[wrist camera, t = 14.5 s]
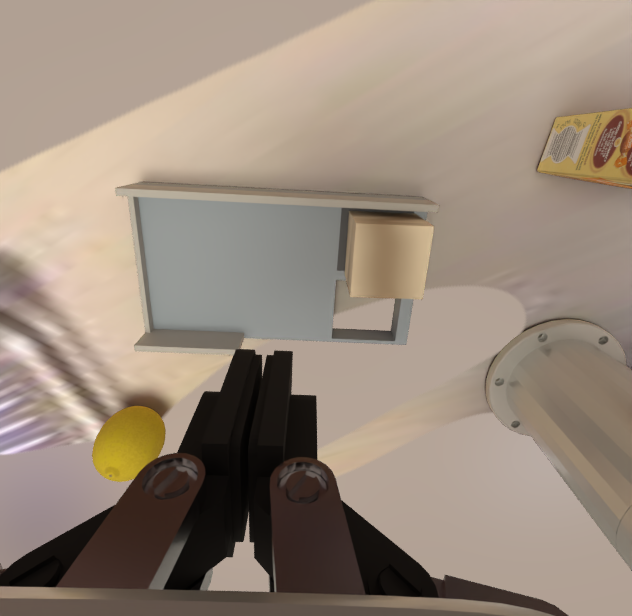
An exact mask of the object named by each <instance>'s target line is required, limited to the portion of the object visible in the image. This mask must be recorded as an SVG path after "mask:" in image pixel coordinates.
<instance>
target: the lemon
mask: <svg viewBox="0 0 632 616" xmlns="http://www.w3.org/2000/svg"><path fill="white" fill-rule="evenodd" d="M164 441H165V426H164V422H163V420H162V419H161V417H160V416H159V415H158V413H157V412H155V411H154V410H152V409H150V408H148V407H144V406H132V407H127V408H125V409H123V410H121V411H118V412H117V413H115V414H114V415H113V416H112V417H111V418H110V419H108V420H107V421H106V423H105V424H104V425H103V427H102V428H101V430H100V432H99V433H98V435H97V437H96V440H95V443H94V447H93V453H92V457H93V463H94V466H95V468H96V470H97V471H98V472H99V473H100V474H101V475H102V476H103V477H105V478H107V479H109V480H112V481H118V482H122V481H129V480H132V479H135V477H136V476H137V474H138V473H139V472H140V471H141V470H142V469H143V468H144V467H145V466H146V465H147V464H148V463H150V462H151V461H153V460H154V459H156V458H158V456H159V454H160V452H161V450H162V448H163V445H164Z"/></svg>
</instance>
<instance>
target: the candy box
mask: <svg viewBox="0 0 632 616" xmlns="http://www.w3.org/2000/svg"><path fill="white" fill-rule="evenodd" d="M537 171H538V172H540V173H546V174H550V175H555V176H560V177H566V178H572V179H577V180H583V181H589V182H594V183H600V184H606V185H612V186H618V187H624V188H631V189H632V108H629V109H620V110H613V111H605V112H597V113H589V114H581V115H572V116H565V117H557V118H556V119H555V122H554V125H553V127H552V130H551V133H550V136H549V139H548V142H547V144H546V147H545V150H544V153H543V156H542V158H541V161H540V164H539V166H538V169H537Z"/></svg>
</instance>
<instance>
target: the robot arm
mask: <svg viewBox="0 0 632 616" xmlns="http://www.w3.org/2000/svg"><path fill="white" fill-rule="evenodd" d="M292 353H293V352H292V351H274V355H267V357H266V363H265V367H264V372H263V376H262V355H256V354H255V350H248V349H236V350H235V353H234V356H233V358H232V361H231V364H230V367H229V369H228V372H227V375H226V377H225V380H224V383H223V386H222V388H221V391H220V392H208V391H206V392H204V393H203V395H202V397H201V399H200V402H199V404H198V406H197V409H196V411H195V413H194V416H193V418H192V420H191V422H190V424H189V427H188V429H187V431H186V434H185V436H184V438H183V441H182V443H181V445H180V447H179V450H178V452H177V453H173V454H167V455H164V456H161V457H159V458H156V459H154V460H153V461H151V462H150V463H148V464H147V465H146V466H145V467H144V468H143V469H142V470H141V471H140V472H139V473H138V474H137V476H136V477H135V479H134V480H133V481H132V483H131V484H130V485H129V487H128V488H127V490H126V491H125V493H124V494H123V495H122V497H121V498H120V499H119V501H118V502H117V503H116V505H114V506H112V507H110V508H108V509H107V510H105V511H103V512H101V513H99V514H98V515H96V516H95V517H92V518H91V519H89V520H87V521H85V522H84V523H82V524H80V525H78V526H76V527H74V528H73V529H71V530H69V531H67V532H65V533H64V534H62V535H60V536H58V537H57V538H55V539H53V540H51V541H49V542H47V543H46V544H44V545H42V546H40V547H38V548H37V549H35V550H33V551H32V552H29V553H28V554H26V555H25V556H23V557H22V558H20V559H19V560H17V561H16V562H14V563H13V564H12V565H11V566H10V567H9V568H7V569H3V568H2V566H1V564H0V616H568V615H567V614H566V613H564V612H563V611H562V610H560V609H559V608H558V607H556V606H555V605H552V604H550V603H548V602H546V601H543V600H540V599H537V598H533V597H529V596H525V595H521V594H518V593H513V592H510V591H506V590H502V589H498V588H495V587H491V586H487V585H483V584H479V583H475V582H471V581H468V580H464V579H460V578H456V577H452V576H448V575H445V576H444V580H441V579H437V578H433V577H430V575H429V573H428V572H426V570H425V569H424V568H423V567H422V566H421V565H420V564H419V563H418V562H416V561H415V560H414V559H413V558H411V557H410V556H409V555H408V554H407V553H405V552H404V551H403V550H402V549H400V548H399V547H398V546H397V545H395V544H394V543H393V542H392V541H391V540H389V539H388V538H387V537H386V536H385V535H383V534H382V533H381V532H380V531H378V530H377V529H376V528H375V527H374V526H372V525H371V524H370V523H369V522H367V521H366V520H365V519H364V518H363V517H361V516H360V515H359V514H358V513H356V512H355V511H354V510H353V509H352V508H350V507H349V506H348V505H346V504H345V503H344V502H343V501H342V500H341V498H340V493H339V490H338V486H337V482H336V478H335V476H334V474H333V472H332V470H331V469H330V468H329V467H328V466H327V465H326V464H324V463H322V462H321V461H319V460H317V410H316V396H311V395H291V387H292V355H293V354H292ZM485 390H486V397H487V401H488V404H489V406H490V408H491V410H492V411H493V413H494V414H495V416H496V417H497V418H498V420H499V421H500V422H501V423H502V424H503V425H504V426H506V427H508V428H509V429H510V430H512V431H515V432H517V433H520V434H522V435H528V436H531V437H532V438H533V440H534V441H535V442H536V444H537V445H538V446H539V448H540V449H541V450H542V452H543V453H544V454H545V455H546V457H547V458H548V460H549V461H550V462H551V464H552V465H553V466H554V468H555V469H556V470H557V472H558V473H559V474H560V476H561V477H562V478H563V480H564V481H565V482H566V484H567V485H568V486H569V488H570V489H571V490H572V492H573V493H574V494H575V496H576V497H577V499H578V500H579V501H580V503H581V504H582V505H583V507H584V508H585V509H586V511H587V512H588V513H589V515H590V516H591V517H592V519H593V520H594V521H595V523H596V524H597V525H598V527H599V528H600V529H601V531H602V532H603V533H604V535H605V536H606V537H607V539H608V540H609V541H610V543H611V544H612V545H613V547H614V548H615V549H616V551H617V552H618V553H619V555H620V556H621V557H622V559H623V560H624V561H625V563H626V564H627V565H628V566H629V568H630V569H631V571H632V370H631V369H630V368H628V367H627V366H626V358H625V353H624V351H623V349H622V347H621V345H620V343H619V342H618V341H617V340H616V339H615V338H614V337H613V336H612V335H611V334H610V333H608V332H607V331H605V330H604V329H602V328H601V327H599V326H597V325H595V324H592V323H590V322H586V321H582V320H573V319H563V320H555V321H550V322H546V323H543V324H539V325H537V326H535V327H533V328H530V329H528V330H526V331H524V332H523V333H521V334H520V335H518V336H517V337H515V338H514V339H513V340H512V341H510V343H508V344H507V345H506V346H505V347H504V348H503V349H502V350H501V352H500V353H499V354H498V355H497V357H496V358H495V360H494V362H493V363H492V365H491V367H490V369H489V373H488V376H487V379H486V389H485ZM248 513H249V527H250V528H249V530H250V531H249V534H250V542H254V558H255V559H256V560H257V561H258V563H260V565H261V566H262V567H263V568H264V569H265V571H266V572H267V573H268V574H269V592H241V591H207V590H208V587H209V585H210V582H211V578H212V574H213V567H214V566H216V565H217V564H218V563H219V562H220V561H222V560H223V559H224V558H226V557H233V552H234V547H235V542H243V541H244V536H245V530H246V524H247V519H248Z"/></svg>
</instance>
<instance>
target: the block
mask: <svg viewBox="0 0 632 616" xmlns="http://www.w3.org/2000/svg"><path fill="white" fill-rule="evenodd" d="M433 231H434V226H433V225H431V224H430V223H428V222H427V221H425V220H424V219H422V218H421V217H420V216H418V215H417V214H415V213H390V212H365V211H349V220H348V234H347V248H346V262H345V278H346V282H347V286H348V290H349V294H350V297H368V298H397V299H423V295H424V288H425V282H426V276H427V269H428V263H429V256H430V250H431V244H432V237H433Z"/></svg>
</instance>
